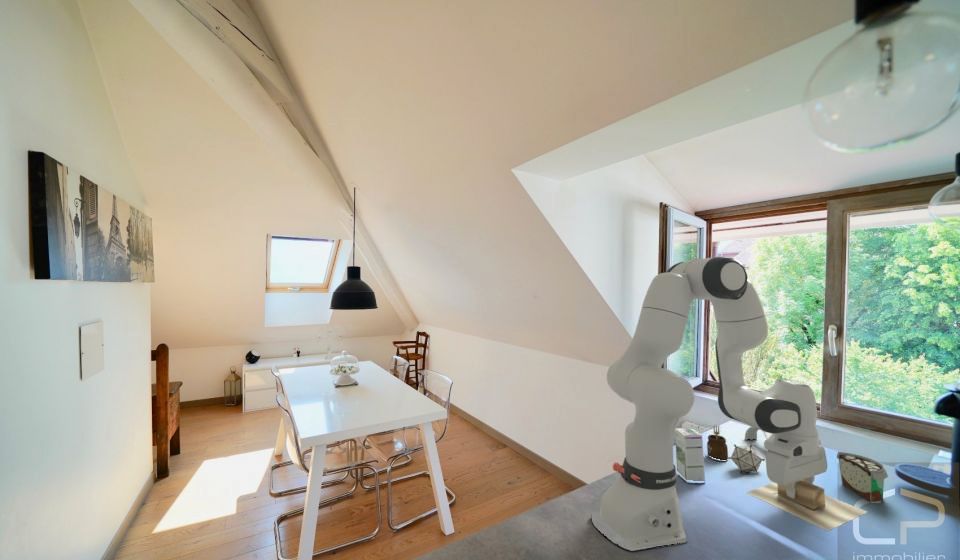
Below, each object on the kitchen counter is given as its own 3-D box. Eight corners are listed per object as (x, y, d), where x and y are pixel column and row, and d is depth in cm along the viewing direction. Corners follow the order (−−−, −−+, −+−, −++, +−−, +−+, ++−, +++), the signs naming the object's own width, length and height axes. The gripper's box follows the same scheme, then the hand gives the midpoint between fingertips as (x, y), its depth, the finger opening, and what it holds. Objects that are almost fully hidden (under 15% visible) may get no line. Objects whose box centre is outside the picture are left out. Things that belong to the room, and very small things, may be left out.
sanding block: (813, 511, 91) (812, 492, 91) (778, 495, 98) (777, 478, 99) (825, 506, 93) (824, 488, 93) (789, 491, 100) (788, 474, 101)
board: (828, 536, 83) (827, 530, 84) (746, 496, 100) (745, 492, 100) (868, 516, 90) (868, 511, 90) (785, 482, 107) (785, 478, 107)
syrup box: (706, 483, 107) (703, 434, 108) (686, 484, 107) (683, 434, 108) (695, 474, 113) (692, 427, 114) (676, 474, 113) (673, 427, 114)
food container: (904, 513, 91) (901, 473, 92) (875, 510, 93) (873, 471, 93) (863, 487, 103) (861, 452, 104) (838, 486, 105) (836, 450, 105)
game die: (753, 486, 112) (765, 470, 106) (722, 469, 117) (731, 453, 111) (759, 464, 117) (770, 447, 112) (729, 449, 122) (738, 432, 117)
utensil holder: (727, 456, 125) (725, 421, 125) (728, 463, 119) (726, 427, 120) (707, 452, 128) (705, 418, 128) (707, 459, 123) (705, 424, 123)
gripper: (805, 431, 103) (808, 480, 103) (759, 443, 96) (762, 496, 95) (833, 439, 97) (836, 491, 97) (787, 452, 90) (790, 509, 89)
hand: (799, 494), depth 96 cm, fingers closed on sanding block, 5 cm apart
